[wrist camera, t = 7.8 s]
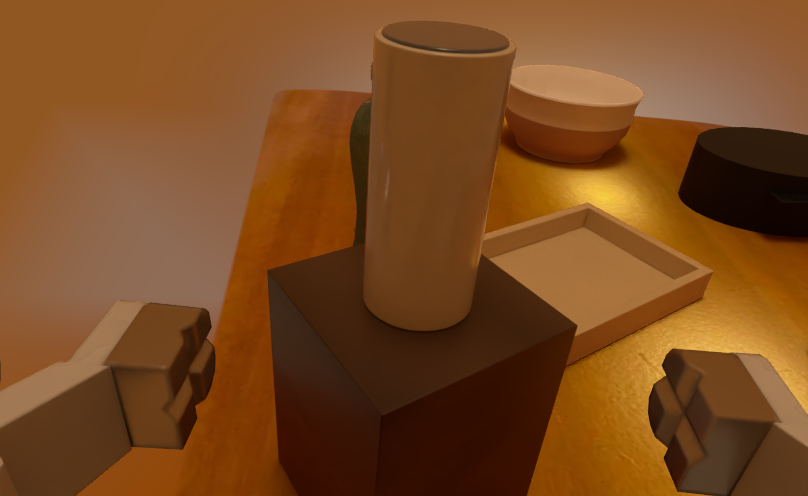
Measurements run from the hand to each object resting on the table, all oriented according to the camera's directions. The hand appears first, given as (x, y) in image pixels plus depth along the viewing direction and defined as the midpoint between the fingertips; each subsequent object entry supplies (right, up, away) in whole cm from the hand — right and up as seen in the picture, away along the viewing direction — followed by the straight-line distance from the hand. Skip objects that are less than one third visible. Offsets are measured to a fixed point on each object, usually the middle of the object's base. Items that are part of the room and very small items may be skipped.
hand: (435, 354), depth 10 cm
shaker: (0, 0, +13) cm, 13 cm away
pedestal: (-1, -10, +19) cm, 22 cm away
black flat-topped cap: (+38, +6, +51) cm, 64 cm away
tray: (+13, -1, +36) cm, 38 cm away
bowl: (+19, +15, +62) cm, 66 cm away
